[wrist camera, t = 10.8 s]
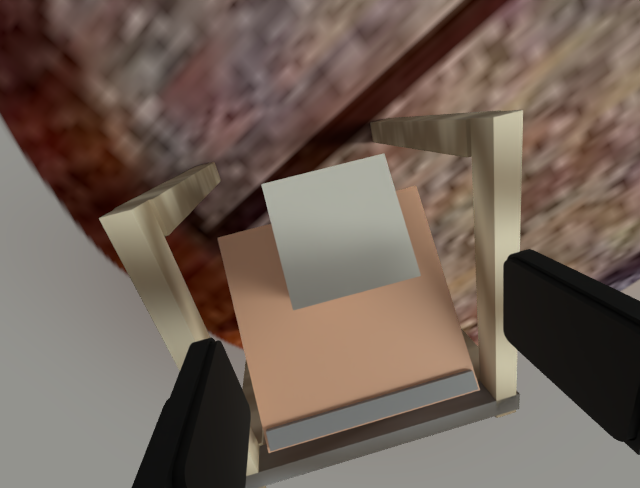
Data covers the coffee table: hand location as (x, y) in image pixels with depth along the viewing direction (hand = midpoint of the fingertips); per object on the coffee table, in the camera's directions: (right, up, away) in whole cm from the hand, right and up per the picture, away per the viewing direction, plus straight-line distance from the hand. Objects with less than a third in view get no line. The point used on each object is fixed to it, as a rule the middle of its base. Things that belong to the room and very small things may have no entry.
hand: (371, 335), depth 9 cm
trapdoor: (0, -1, +9) cm, 9 cm away
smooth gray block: (-1, +3, +8) cm, 9 cm away
